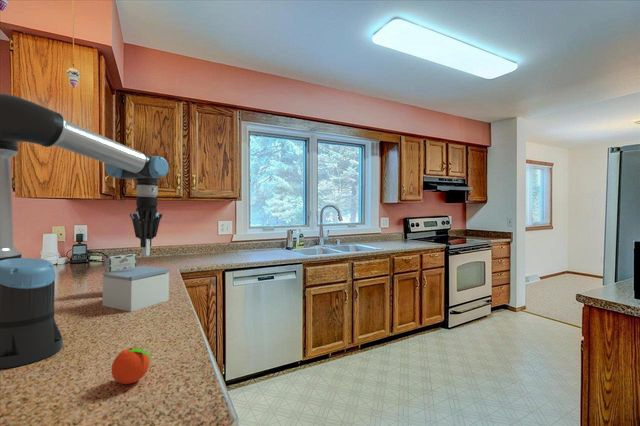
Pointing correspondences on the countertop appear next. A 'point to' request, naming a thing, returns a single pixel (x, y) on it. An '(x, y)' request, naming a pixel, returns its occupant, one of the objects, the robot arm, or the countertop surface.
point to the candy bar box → (119, 262)
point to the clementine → (130, 365)
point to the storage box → (135, 292)
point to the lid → (135, 272)
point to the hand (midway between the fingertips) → (145, 255)
